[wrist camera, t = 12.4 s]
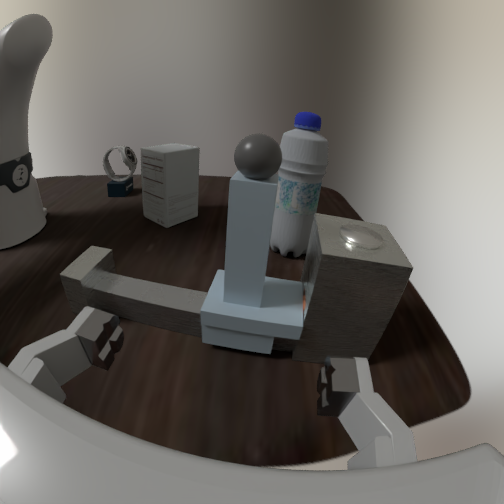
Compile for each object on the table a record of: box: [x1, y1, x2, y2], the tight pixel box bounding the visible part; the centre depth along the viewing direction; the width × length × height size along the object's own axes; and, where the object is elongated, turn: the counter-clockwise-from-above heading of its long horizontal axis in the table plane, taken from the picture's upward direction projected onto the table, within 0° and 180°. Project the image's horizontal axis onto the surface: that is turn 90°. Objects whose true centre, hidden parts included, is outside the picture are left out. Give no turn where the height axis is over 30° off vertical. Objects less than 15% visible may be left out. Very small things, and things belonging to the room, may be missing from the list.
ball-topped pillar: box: [200, 134, 303, 354], centre depth 21 cm, size 8×6×17 cm
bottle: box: [270, 112, 328, 257], centre depth 36 cm, size 7×7×20 cm
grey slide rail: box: [60, 213, 413, 364], centre depth 24 cm, size 30×8×11 cm, turn 82°
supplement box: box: [141, 143, 199, 228], centre depth 45 cm, size 7×7×13 cm
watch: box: [103, 146, 137, 197], centre depth 55 cm, size 6×8×11 cm
